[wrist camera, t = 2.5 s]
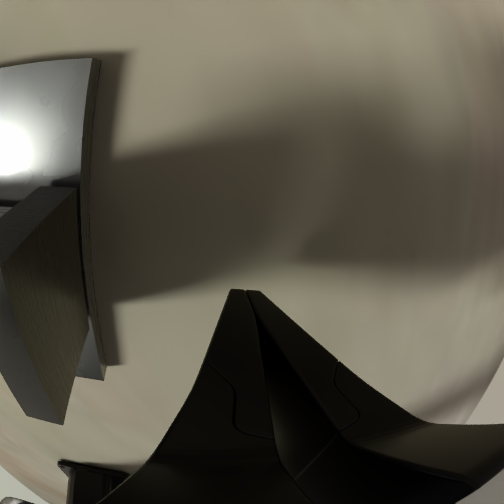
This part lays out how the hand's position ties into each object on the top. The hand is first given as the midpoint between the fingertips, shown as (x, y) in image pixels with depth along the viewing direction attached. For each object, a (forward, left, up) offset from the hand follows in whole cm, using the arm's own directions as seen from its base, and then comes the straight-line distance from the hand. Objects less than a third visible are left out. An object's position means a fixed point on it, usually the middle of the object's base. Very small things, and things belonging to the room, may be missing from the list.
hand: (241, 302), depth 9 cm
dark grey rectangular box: (+1, +12, -1) cm, 12 cm away
